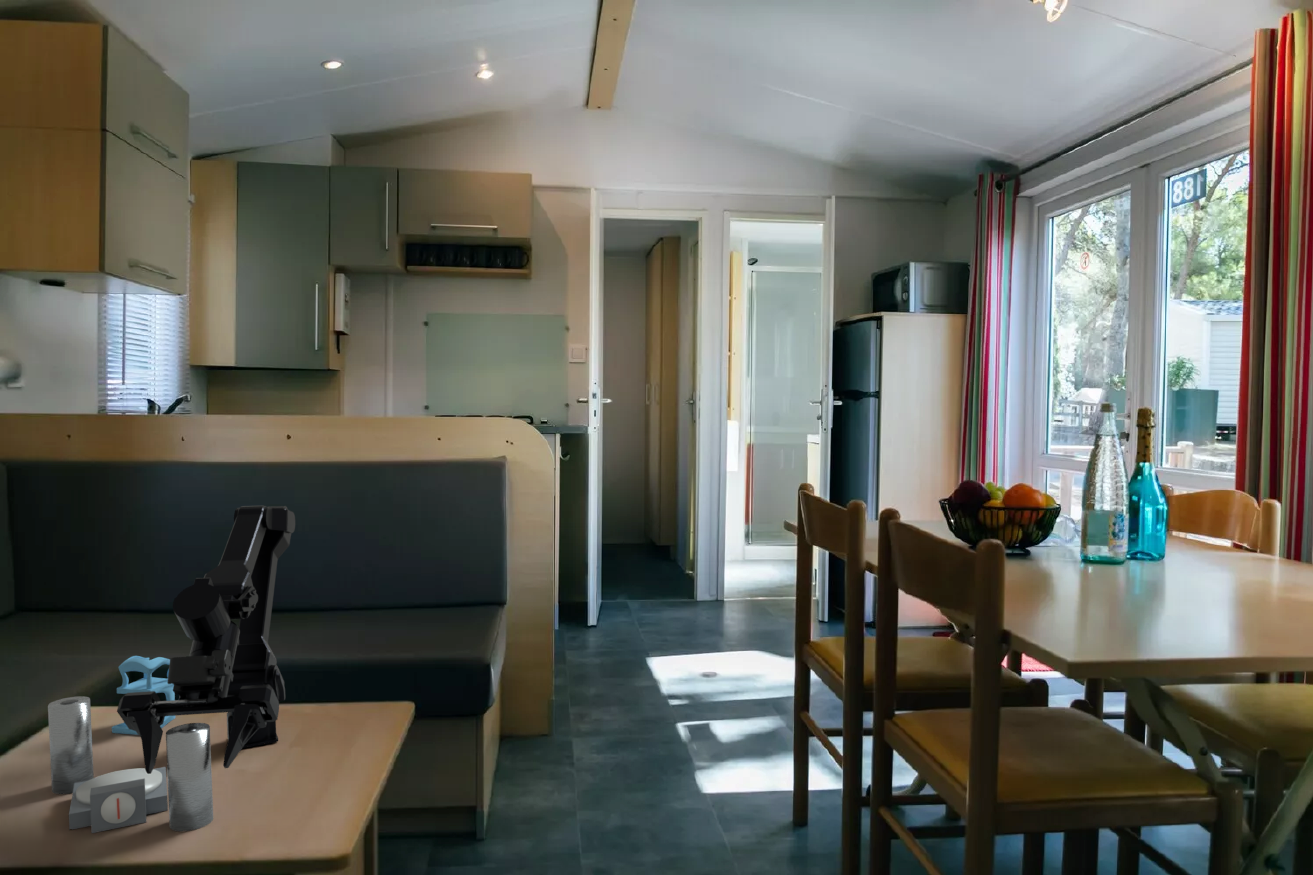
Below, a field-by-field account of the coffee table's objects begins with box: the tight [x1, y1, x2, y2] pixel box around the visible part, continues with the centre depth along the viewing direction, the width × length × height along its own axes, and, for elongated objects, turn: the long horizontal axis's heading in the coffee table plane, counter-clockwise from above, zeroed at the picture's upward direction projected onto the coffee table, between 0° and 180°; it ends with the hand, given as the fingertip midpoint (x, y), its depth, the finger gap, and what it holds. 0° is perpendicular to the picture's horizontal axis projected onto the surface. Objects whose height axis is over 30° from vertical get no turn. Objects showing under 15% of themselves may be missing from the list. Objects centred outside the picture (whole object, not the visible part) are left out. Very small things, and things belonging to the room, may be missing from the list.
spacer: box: [47, 695, 95, 795], centre depth 132 cm, size 5×5×12 cm
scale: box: [68, 766, 169, 834], centre depth 125 cm, size 11×14×5 cm
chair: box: [111, 655, 176, 736], centre depth 156 cm, size 8×8×12 cm
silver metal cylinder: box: [165, 722, 214, 832], centre depth 120 cm, size 5×5×12 cm
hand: (187, 769), depth 119 cm, fingers open, 9 cm apart
